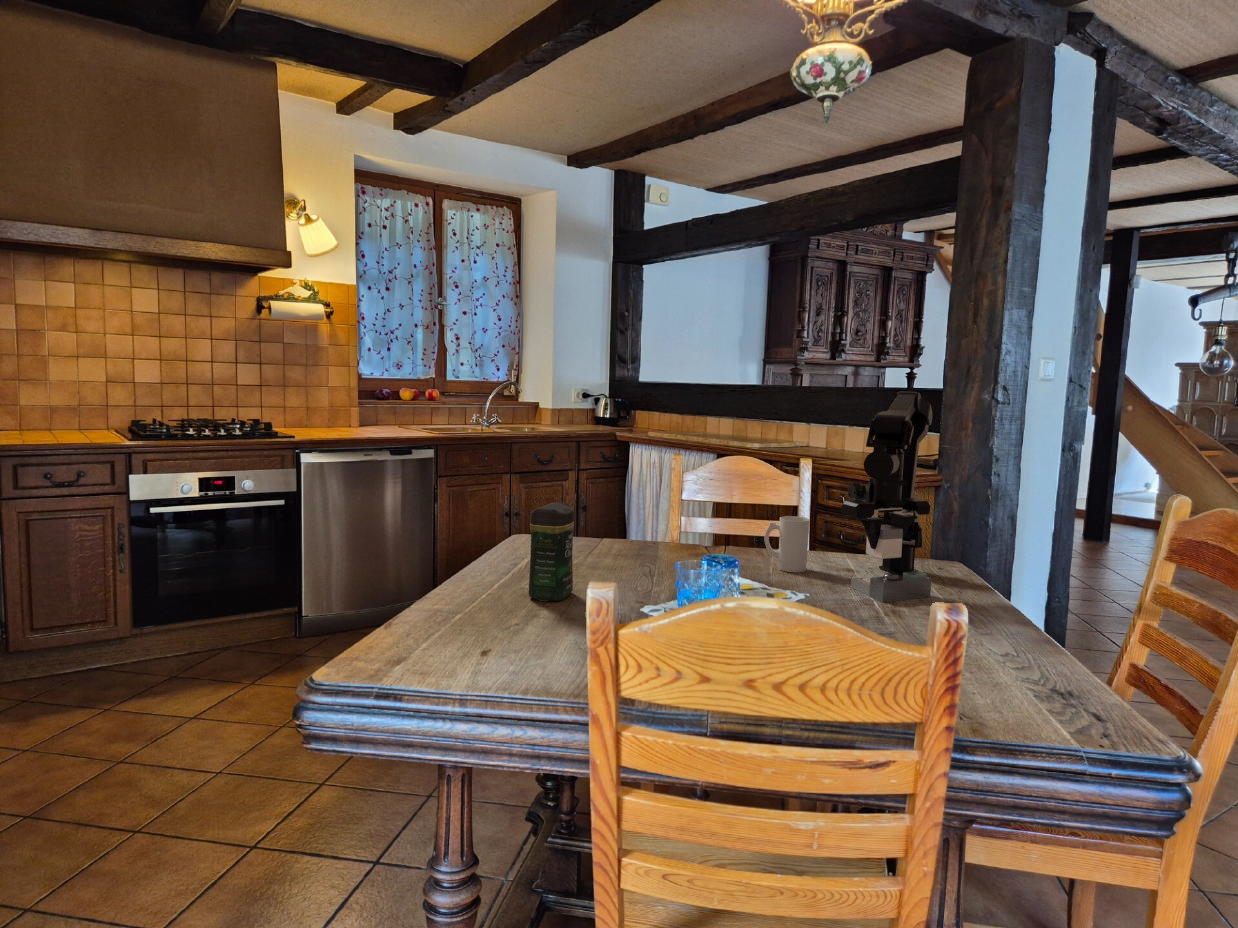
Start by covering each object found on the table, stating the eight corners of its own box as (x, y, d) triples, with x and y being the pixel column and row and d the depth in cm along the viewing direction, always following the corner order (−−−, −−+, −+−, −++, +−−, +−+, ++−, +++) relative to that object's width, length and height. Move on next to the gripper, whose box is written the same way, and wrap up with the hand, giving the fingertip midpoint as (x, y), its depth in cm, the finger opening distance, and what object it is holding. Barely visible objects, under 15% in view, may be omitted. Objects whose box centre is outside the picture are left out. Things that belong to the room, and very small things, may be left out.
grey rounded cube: (885, 551, 164) (886, 524, 163) (901, 557, 159) (902, 528, 159) (865, 553, 162) (867, 525, 162) (881, 558, 158) (883, 530, 157)
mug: (806, 567, 180) (809, 516, 179) (807, 574, 174) (810, 522, 172) (763, 564, 182) (765, 514, 181) (762, 570, 176) (765, 519, 174)
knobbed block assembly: (847, 587, 163) (849, 565, 162) (893, 583, 167) (894, 561, 166) (882, 602, 152) (883, 578, 152) (930, 597, 156) (931, 574, 156)
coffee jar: (561, 604, 146) (562, 509, 144) (523, 600, 149) (524, 506, 146) (578, 591, 156) (579, 501, 154) (541, 587, 158) (542, 499, 156)
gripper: (897, 468, 170) (893, 537, 171) (827, 471, 163) (823, 542, 165) (934, 475, 159) (929, 548, 161) (860, 477, 153) (856, 554, 154)
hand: (883, 548), depth 161 cm, fingers closed on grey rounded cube, 5 cm apart
